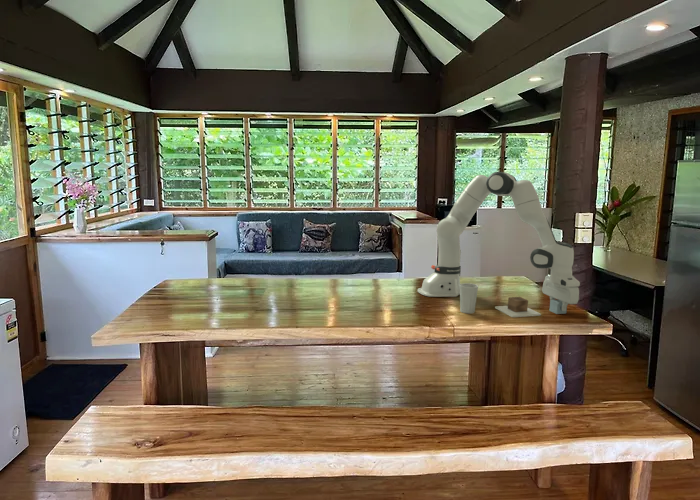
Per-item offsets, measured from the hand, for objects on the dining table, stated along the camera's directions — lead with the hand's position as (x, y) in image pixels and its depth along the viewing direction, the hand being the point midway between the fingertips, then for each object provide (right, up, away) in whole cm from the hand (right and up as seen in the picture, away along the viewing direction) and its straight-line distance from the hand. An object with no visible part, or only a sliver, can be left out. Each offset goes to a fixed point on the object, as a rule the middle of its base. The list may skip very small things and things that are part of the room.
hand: (558, 308), depth 215 cm
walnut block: (-18, -1, 0) cm, 18 cm away
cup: (-41, -1, -1) cm, 41 cm away
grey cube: (0, -2, 0) cm, 2 cm away
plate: (-18, -1, 0) cm, 19 cm away
